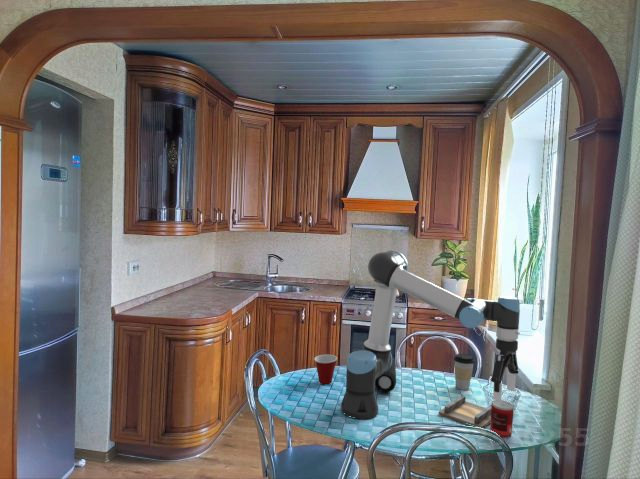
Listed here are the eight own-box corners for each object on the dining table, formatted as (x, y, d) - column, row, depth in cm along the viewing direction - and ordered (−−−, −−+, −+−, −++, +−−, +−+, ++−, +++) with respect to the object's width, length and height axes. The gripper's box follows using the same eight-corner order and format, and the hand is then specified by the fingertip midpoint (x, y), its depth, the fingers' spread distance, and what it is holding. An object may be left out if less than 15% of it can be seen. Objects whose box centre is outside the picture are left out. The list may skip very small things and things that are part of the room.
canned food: (506, 427, 180) (508, 399, 180) (515, 438, 172) (517, 408, 172) (486, 427, 180) (488, 399, 179) (494, 437, 172) (496, 408, 171)
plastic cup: (310, 379, 223) (311, 354, 222) (331, 377, 226) (332, 353, 226) (317, 388, 213) (318, 362, 212) (339, 386, 216) (340, 360, 215)
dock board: (481, 429, 178) (482, 420, 178) (438, 414, 190) (438, 405, 190) (500, 415, 191) (500, 406, 191) (458, 401, 203) (458, 393, 203)
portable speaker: (374, 373, 234) (375, 354, 234) (394, 375, 233) (395, 355, 232) (373, 393, 209) (374, 371, 209) (395, 395, 208) (396, 373, 207)
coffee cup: (450, 388, 218) (451, 357, 217) (454, 382, 226) (456, 351, 225) (471, 393, 214) (473, 360, 213) (474, 386, 222) (476, 355, 221)
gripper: (504, 347, 162) (501, 407, 163) (528, 334, 181) (525, 388, 182) (483, 343, 167) (480, 401, 168) (509, 330, 186) (506, 383, 187)
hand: (504, 395), depth 175 cm, fingers open, 13 cm apart
